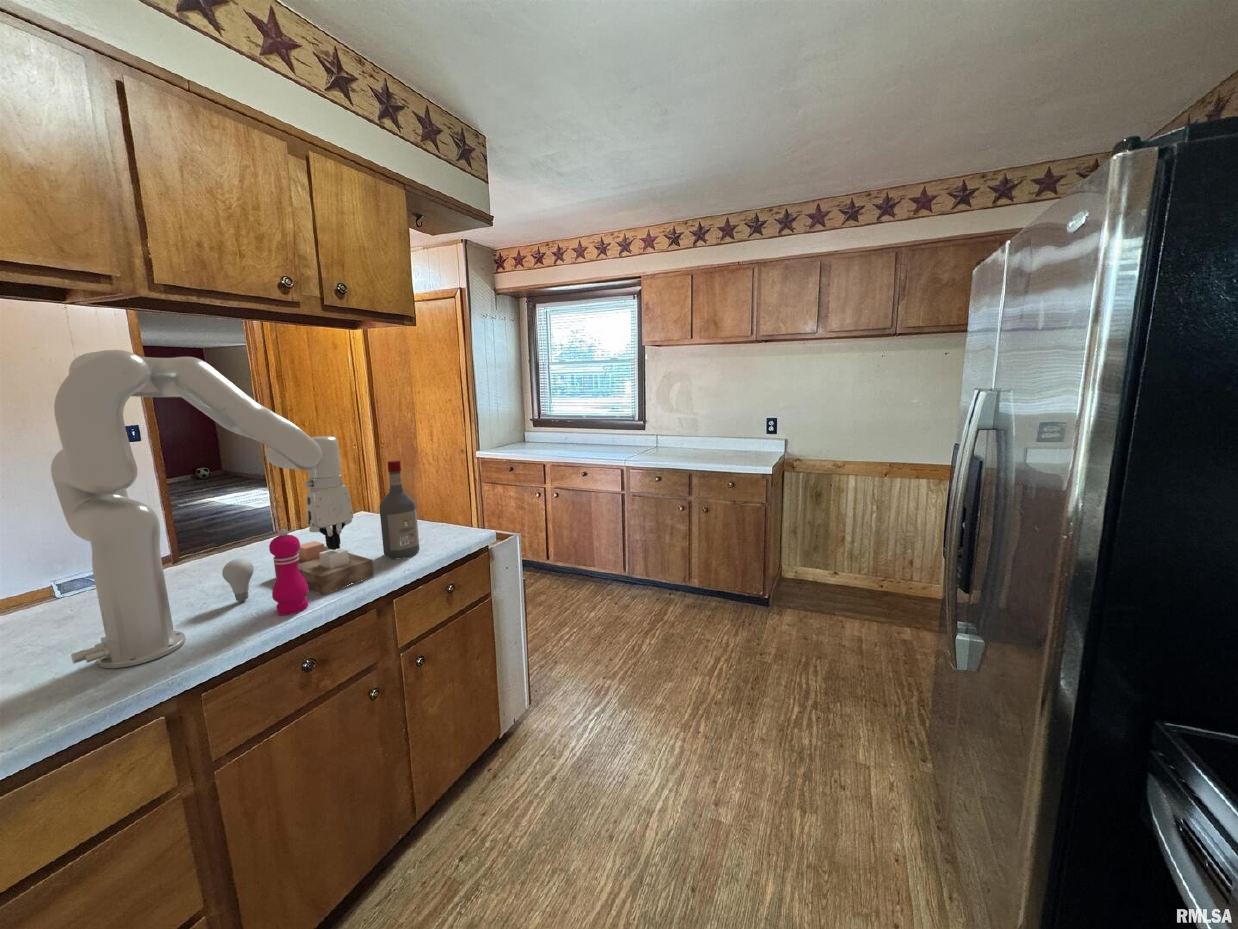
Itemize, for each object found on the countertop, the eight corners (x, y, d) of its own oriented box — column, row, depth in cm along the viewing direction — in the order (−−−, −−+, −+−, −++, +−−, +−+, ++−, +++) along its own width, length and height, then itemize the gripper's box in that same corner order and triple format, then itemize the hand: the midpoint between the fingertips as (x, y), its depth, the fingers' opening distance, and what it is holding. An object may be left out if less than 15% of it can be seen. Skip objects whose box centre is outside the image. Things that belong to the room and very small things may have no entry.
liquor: (422, 553, 155) (415, 460, 150) (394, 560, 148) (385, 464, 143) (409, 547, 161) (401, 458, 156) (381, 554, 154) (372, 461, 149)
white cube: (331, 573, 129) (329, 555, 128) (321, 570, 131) (319, 552, 131) (349, 567, 133) (347, 550, 132) (339, 564, 136) (337, 547, 135)
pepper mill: (292, 617, 112) (282, 534, 109) (266, 615, 113) (255, 532, 110) (317, 603, 119) (308, 525, 116) (293, 601, 120) (283, 524, 117)
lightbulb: (225, 609, 117) (218, 565, 115) (228, 600, 122) (222, 558, 120) (256, 602, 120) (250, 560, 118) (258, 594, 125) (252, 553, 123)
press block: (322, 595, 124) (320, 576, 123) (276, 577, 136) (273, 560, 135) (373, 576, 136) (372, 559, 135) (326, 561, 148) (325, 546, 147)
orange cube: (307, 565, 135) (305, 548, 134) (298, 562, 137) (296, 545, 137) (325, 560, 139) (323, 543, 138) (316, 557, 142) (314, 541, 141)
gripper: (303, 489, 120) (312, 559, 123) (361, 479, 133) (368, 542, 136) (288, 486, 124) (297, 554, 127) (345, 476, 137) (352, 538, 140)
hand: (333, 548), depth 131 cm, fingers closed
